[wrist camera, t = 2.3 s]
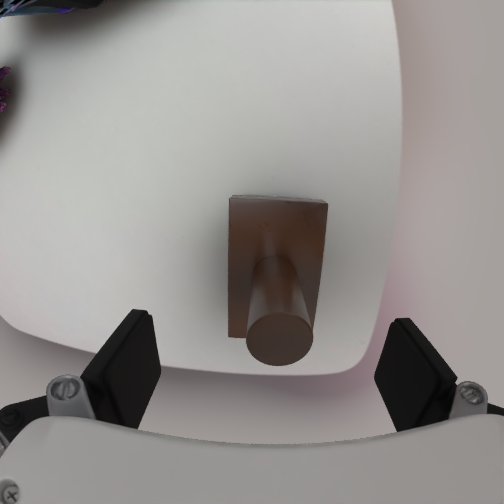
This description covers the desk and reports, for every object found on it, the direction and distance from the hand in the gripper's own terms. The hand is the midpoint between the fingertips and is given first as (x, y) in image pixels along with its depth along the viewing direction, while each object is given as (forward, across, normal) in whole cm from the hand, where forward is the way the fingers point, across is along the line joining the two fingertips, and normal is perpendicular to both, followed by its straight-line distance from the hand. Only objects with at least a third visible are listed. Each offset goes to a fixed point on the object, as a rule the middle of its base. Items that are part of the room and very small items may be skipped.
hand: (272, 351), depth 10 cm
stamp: (+10, 0, 0) cm, 10 cm away
